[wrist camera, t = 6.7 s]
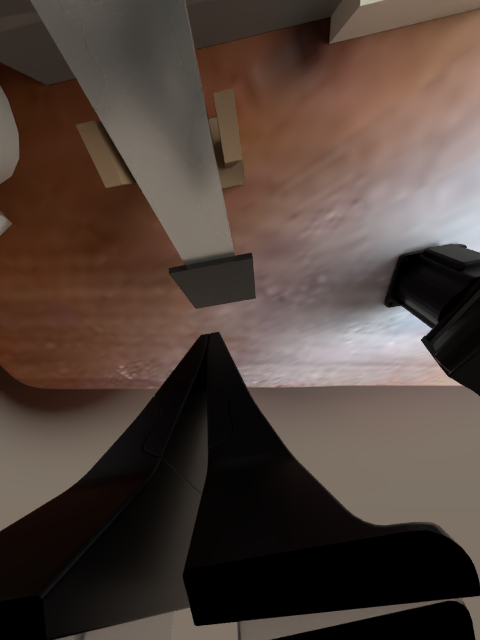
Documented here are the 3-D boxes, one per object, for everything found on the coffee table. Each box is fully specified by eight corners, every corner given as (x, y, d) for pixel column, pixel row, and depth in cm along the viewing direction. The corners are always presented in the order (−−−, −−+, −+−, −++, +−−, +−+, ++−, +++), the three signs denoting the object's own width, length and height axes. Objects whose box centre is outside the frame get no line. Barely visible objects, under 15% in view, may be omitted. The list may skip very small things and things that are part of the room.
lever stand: (244, 183, 16) (269, 196, 7) (169, 198, 17) (103, 228, 8) (236, 115, 14) (256, 9, 5) (148, 134, 14) (17, 68, 5)
